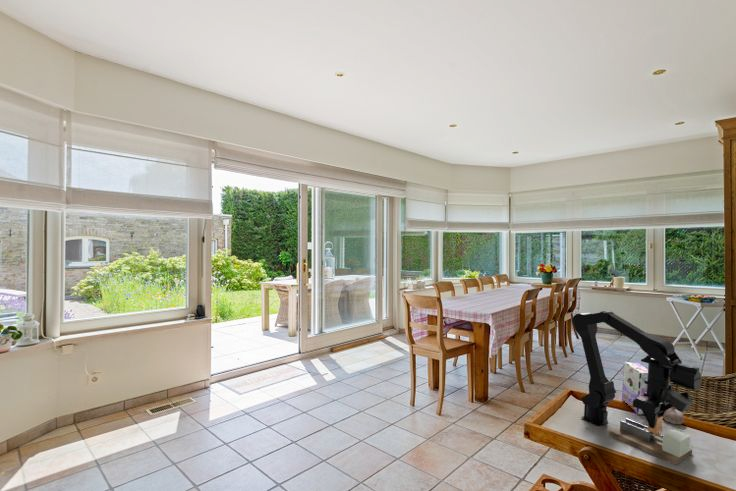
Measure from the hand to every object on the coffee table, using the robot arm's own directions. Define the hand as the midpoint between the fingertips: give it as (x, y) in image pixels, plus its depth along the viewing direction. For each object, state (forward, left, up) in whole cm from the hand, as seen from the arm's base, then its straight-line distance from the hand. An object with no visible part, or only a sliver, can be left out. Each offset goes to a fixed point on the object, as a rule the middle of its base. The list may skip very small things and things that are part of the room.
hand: (654, 426), depth 126 cm
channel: (-5, 0, -5) cm, 7 cm away
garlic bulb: (-5, +27, -7) cm, 28 cm away
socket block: (+6, 0, -5) cm, 8 cm away
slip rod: (+2, 0, -4) cm, 5 cm away
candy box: (-17, +27, -7) cm, 33 cm away
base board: (-1, 0, -6) cm, 7 cm away
